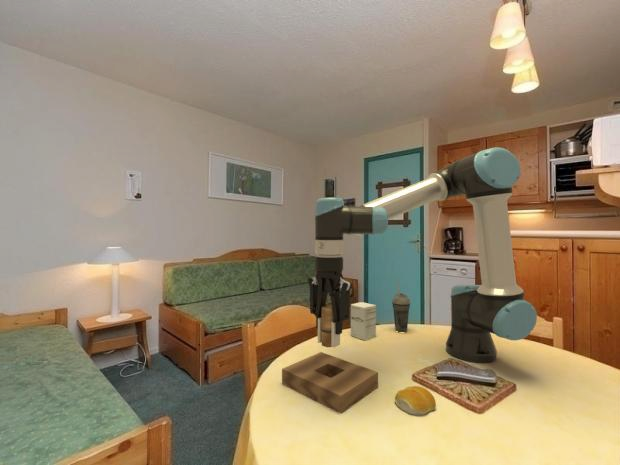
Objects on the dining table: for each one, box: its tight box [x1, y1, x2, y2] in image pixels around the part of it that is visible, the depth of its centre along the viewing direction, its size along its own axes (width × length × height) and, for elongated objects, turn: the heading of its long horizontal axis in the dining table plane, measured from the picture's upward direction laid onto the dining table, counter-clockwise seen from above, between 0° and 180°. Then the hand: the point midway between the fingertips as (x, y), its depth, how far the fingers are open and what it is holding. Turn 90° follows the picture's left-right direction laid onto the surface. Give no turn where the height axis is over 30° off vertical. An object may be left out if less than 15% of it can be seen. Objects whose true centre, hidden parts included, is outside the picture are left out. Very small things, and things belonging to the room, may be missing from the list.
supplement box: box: [350, 301, 377, 341], centre depth 120 cm, size 7×7×13 cm
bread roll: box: [394, 385, 437, 416], centre depth 72 cm, size 8×9×4 cm
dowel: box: [321, 304, 334, 348], centre depth 81 cm, size 4×4×10 cm
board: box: [281, 351, 379, 414], centre depth 81 cm, size 20×16×4 cm
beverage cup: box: [391, 282, 411, 333], centre depth 126 cm, size 7×7×20 cm
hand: (328, 343), depth 81 cm, fingers closed on dowel, 4 cm apart
